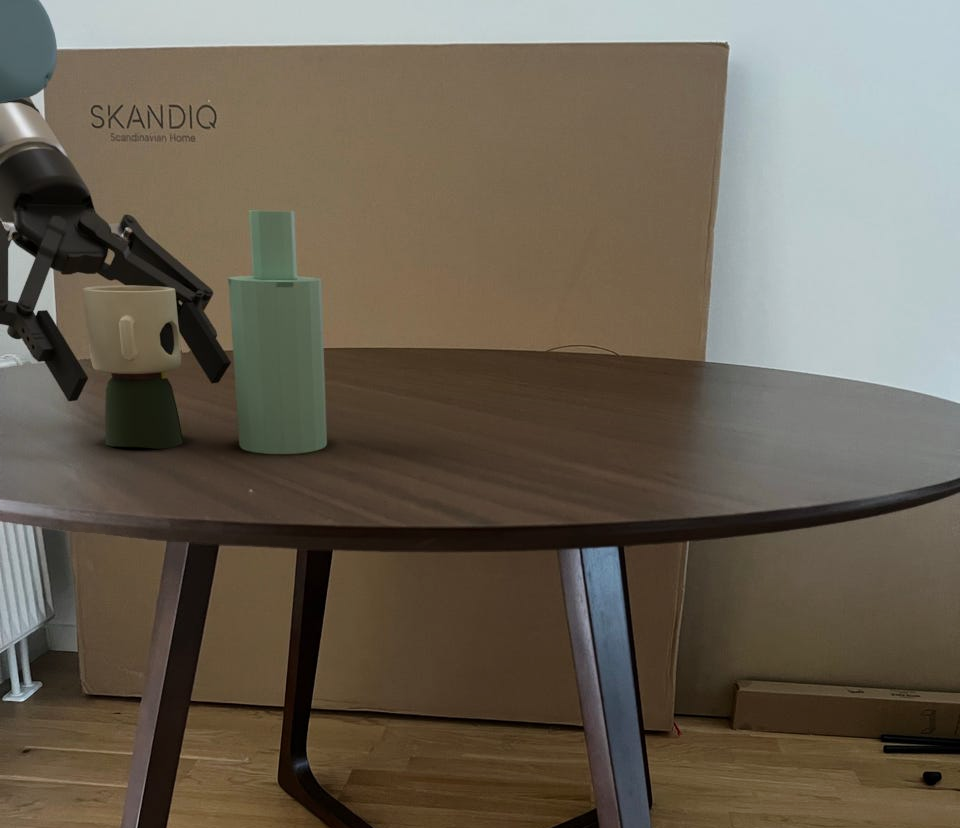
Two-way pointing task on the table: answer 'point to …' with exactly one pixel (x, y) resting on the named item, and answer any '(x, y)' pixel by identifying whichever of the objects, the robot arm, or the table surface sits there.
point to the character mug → (136, 361)
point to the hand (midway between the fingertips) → (154, 381)
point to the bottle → (278, 344)
